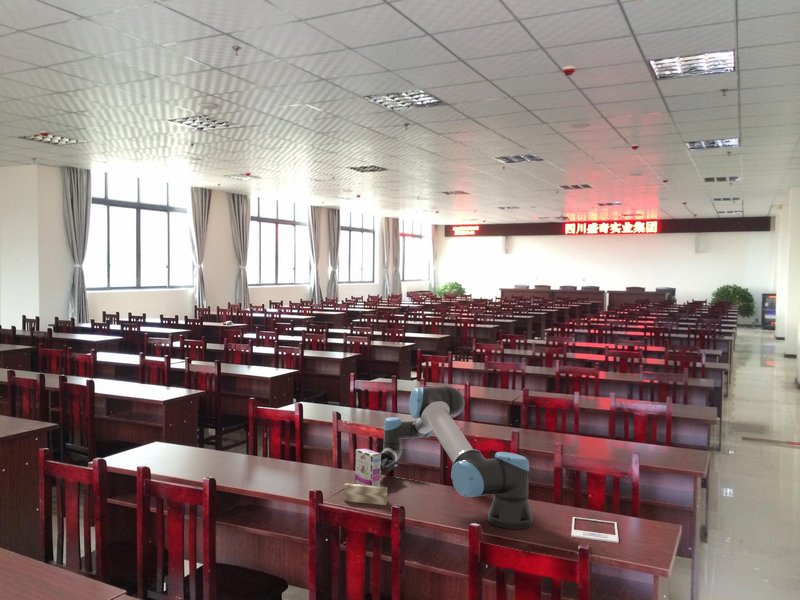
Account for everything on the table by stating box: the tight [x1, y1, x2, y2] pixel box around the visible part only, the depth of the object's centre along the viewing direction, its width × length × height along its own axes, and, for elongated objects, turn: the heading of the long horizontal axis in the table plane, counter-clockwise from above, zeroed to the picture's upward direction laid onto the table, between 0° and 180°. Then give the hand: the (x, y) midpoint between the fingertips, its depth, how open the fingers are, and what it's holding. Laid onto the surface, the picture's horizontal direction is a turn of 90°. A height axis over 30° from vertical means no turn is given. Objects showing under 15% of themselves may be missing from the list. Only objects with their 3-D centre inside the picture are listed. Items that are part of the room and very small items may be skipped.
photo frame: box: [570, 516, 619, 544], centre depth 213 cm, size 15×1×18 cm
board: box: [343, 482, 388, 506], centre depth 234 cm, size 16×2×6 cm, turn 78°
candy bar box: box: [354, 447, 382, 487], centre depth 243 cm, size 11×5×16 cm, turn 38°
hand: (373, 474), depth 246 cm, fingers closed
